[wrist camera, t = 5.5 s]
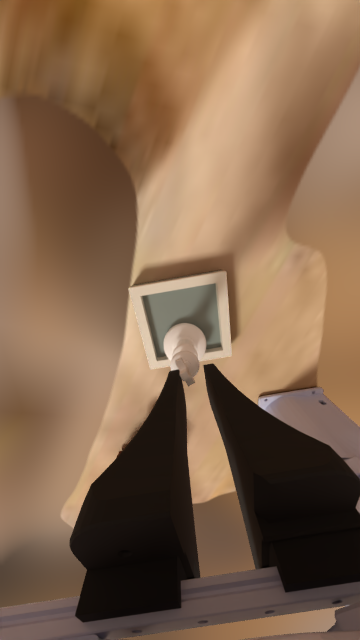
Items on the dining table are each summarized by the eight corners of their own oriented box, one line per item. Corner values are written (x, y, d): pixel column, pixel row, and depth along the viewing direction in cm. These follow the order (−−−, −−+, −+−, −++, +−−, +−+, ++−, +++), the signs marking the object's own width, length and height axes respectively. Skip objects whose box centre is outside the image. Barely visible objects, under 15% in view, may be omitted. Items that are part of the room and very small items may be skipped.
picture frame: (220, 269, 19) (226, 271, 17) (226, 347, 22) (231, 356, 21) (132, 285, 19) (128, 288, 17) (152, 360, 23) (150, 369, 21)
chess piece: (193, 315, 20) (201, 317, 10) (213, 352, 20) (243, 393, 10) (155, 336, 20) (126, 359, 10) (176, 372, 20) (168, 433, 10)
